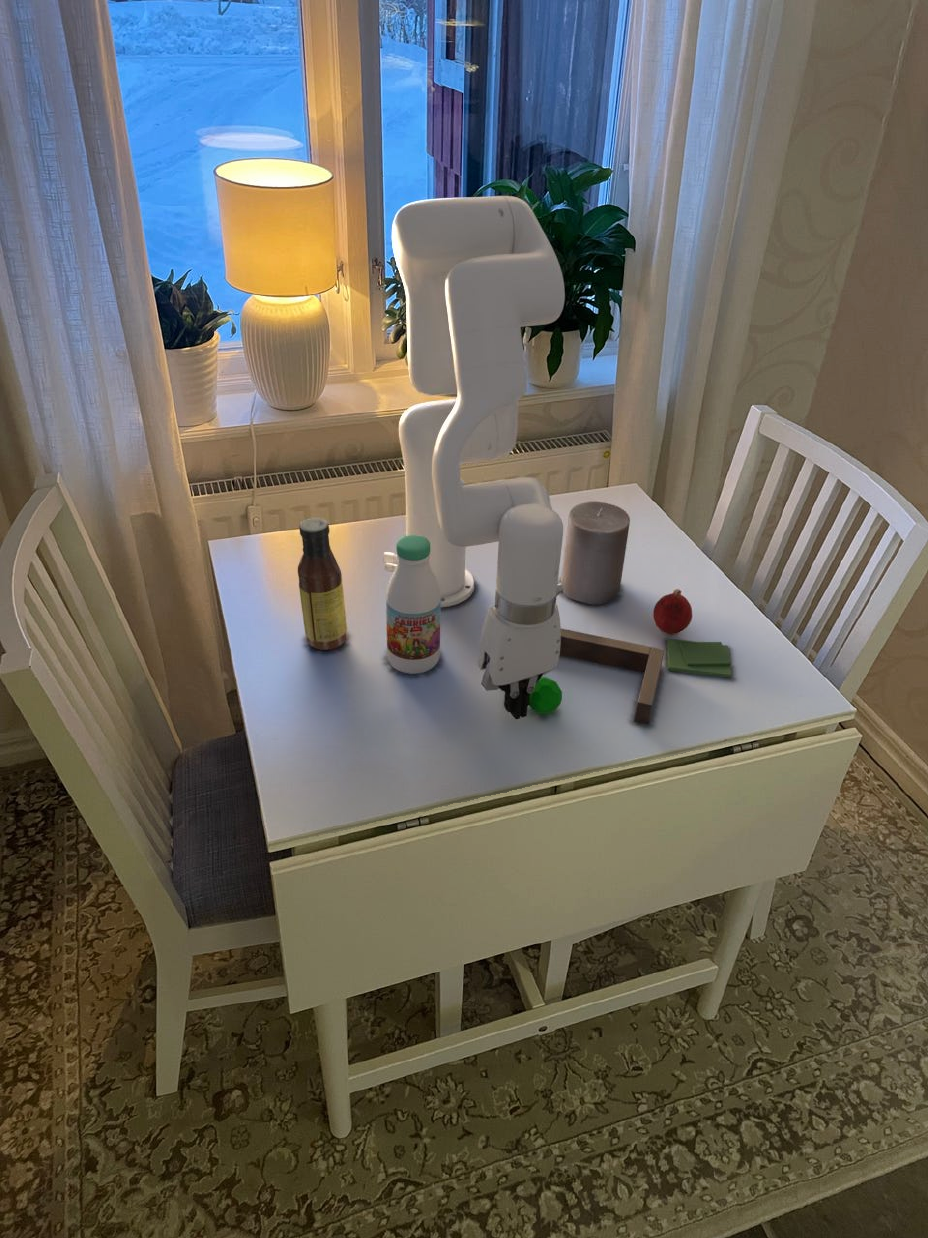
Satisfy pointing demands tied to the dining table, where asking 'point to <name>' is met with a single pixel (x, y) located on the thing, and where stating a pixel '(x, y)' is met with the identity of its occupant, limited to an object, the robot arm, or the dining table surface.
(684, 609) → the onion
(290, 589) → the dining table surface
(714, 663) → the green rag
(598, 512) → the pillar candle
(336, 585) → the sauce bottle
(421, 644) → the milk bottle
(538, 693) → the polyhedron
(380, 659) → the dining table surface
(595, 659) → the corner stop
